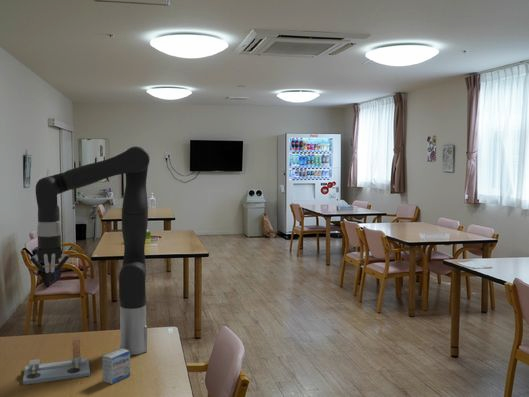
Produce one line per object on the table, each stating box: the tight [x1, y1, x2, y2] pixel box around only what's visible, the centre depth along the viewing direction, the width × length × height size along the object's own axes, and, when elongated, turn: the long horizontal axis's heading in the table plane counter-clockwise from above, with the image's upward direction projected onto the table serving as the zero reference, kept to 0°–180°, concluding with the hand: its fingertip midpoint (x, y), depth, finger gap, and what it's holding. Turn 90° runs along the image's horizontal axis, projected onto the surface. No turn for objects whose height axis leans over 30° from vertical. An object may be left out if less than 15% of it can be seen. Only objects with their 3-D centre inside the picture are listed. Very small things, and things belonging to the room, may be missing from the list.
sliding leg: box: [71, 336, 82, 370], centre depth 172 cm, size 3×7×9 cm, turn 21°
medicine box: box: [101, 348, 131, 385], centre depth 166 cm, size 8×4×9 cm, turn 148°
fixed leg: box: [28, 358, 41, 376], centre depth 167 cm, size 3×7×2 cm, turn 21°
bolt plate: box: [22, 358, 91, 386], centre depth 170 cm, size 20×12×2 cm, turn 111°
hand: (50, 282), depth 181 cm, fingers closed
